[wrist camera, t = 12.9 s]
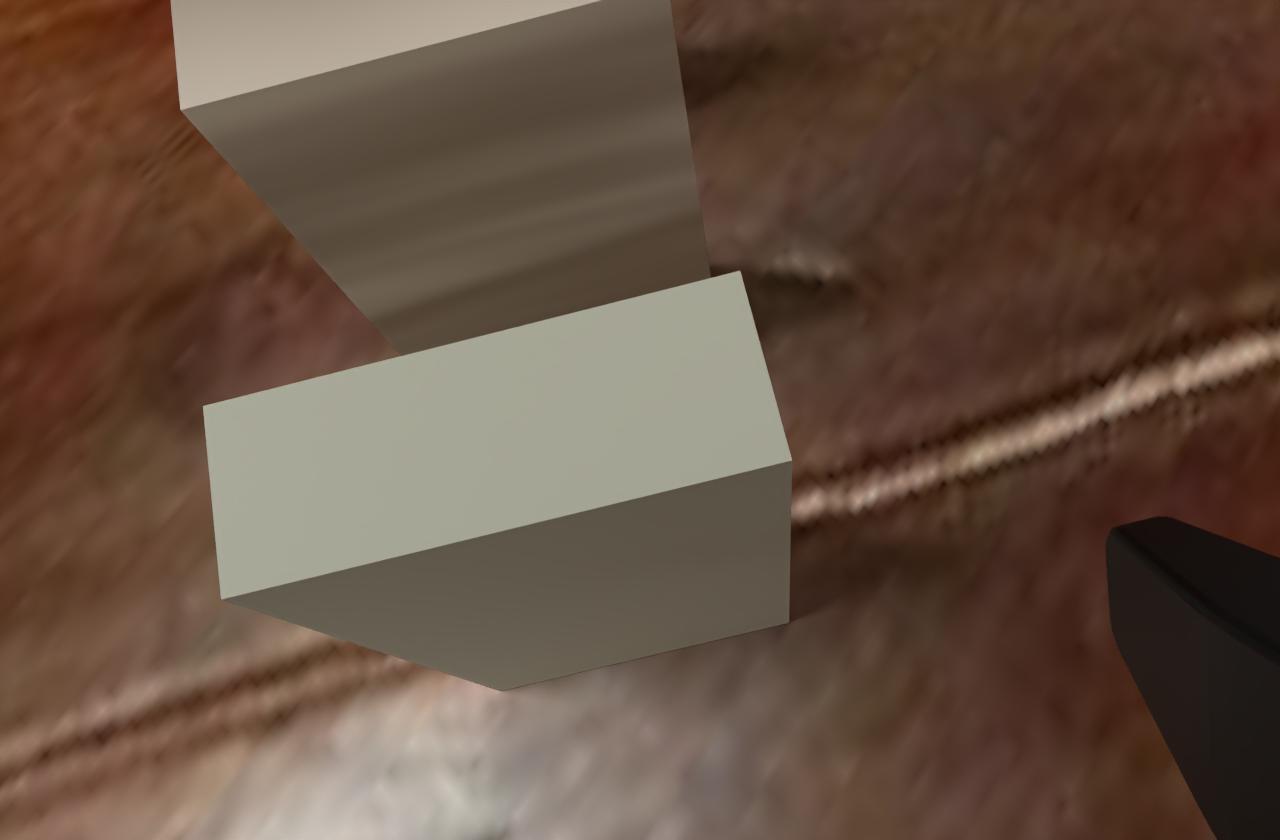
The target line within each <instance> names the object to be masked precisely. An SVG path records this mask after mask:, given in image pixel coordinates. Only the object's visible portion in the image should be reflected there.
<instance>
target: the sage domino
mask: <svg viewBox="0 0 1280 840" xmlns="http://www.w3.org/2000/svg"><path fill="white" fill-rule="evenodd" d="M203 411H204V422H205V433H206V443H207V454H208V465H209V475H210V486H211V496H212V507H213V518H214V528H215V539H216V550H217V560H218V571H219V581H220V592H221V600H224V601H227V602H230V603H233V604H236V605H239V606H242V607H246V608H249V609H252V610H255V611H258V612H261V613H264V614H267V615H270V616H273V617H276V618H279V619H282V620H285V621H288V622H291V623H294V624H297V625H300V626H303V627H306V628H309V629H312V630H316V631H319V632H322V633H325V634H328V635H331V636H334V637H337V638H340V639H343V640H346V641H349V642H352V643H355V644H358V645H361V646H364V647H367V648H370V649H373V650H376V651H379V652H382V653H385V654H389V655H392V656H395V657H398V658H401V659H404V660H407V661H410V662H413V663H416V664H419V665H422V666H425V667H428V668H431V669H434V670H437V671H440V672H443V673H446V674H449V675H452V676H455V677H459V678H462V679H465V680H468V681H471V682H474V683H477V684H480V685H483V686H486V687H489V688H492V689H495V690H498V691H503V690H507V689H511V688H516V687H520V686H524V685H528V684H533V683H537V682H541V681H545V680H550V679H554V678H558V677H562V676H566V675H571V674H575V673H579V672H583V671H588V670H592V669H596V668H600V667H604V666H609V665H613V664H617V663H621V662H626V661H630V660H634V659H638V658H642V657H647V656H651V655H655V654H659V653H664V652H668V651H672V650H676V649H680V648H685V647H689V646H693V645H697V644H702V643H706V642H710V641H714V640H719V639H723V638H727V637H731V636H735V635H740V634H744V633H748V632H752V631H757V630H761V629H765V628H769V627H773V626H778V625H782V624H786V623H789V598H790V545H791V493H792V458H791V455H790V451H789V447H788V444H787V440H786V436H785V433H784V429H783V425H782V422H781V418H780V414H779V411H778V407H777V403H776V400H775V396H774V392H773V389H772V385H771V381H770V378H769V374H768V370H767V367H766V363H765V359H764V356H763V352H762V348H761V345H760V341H759V338H758V334H757V330H756V327H755V323H754V319H753V316H752V312H751V308H750V305H749V301H748V297H747V294H746V290H745V286H744V283H743V279H742V275H741V272H740V271H737V272H733V273H729V274H725V275H721V276H717V277H713V278H709V279H705V280H701V281H697V282H693V283H689V284H685V285H681V286H677V287H673V288H669V289H665V290H662V291H658V292H654V293H650V294H646V295H642V296H638V297H634V298H630V299H626V300H622V301H618V302H614V303H610V304H606V305H602V306H598V307H594V308H590V309H586V310H582V311H578V312H574V313H570V314H566V315H562V316H559V317H555V318H551V319H547V320H543V321H539V322H535V323H531V324H527V325H523V326H519V327H515V328H511V329H507V330H503V331H499V332H495V333H491V334H487V335H483V336H479V337H475V338H471V339H467V340H463V341H459V342H456V343H452V344H448V345H444V346H440V347H436V348H432V349H428V350H424V351H420V352H416V353H412V354H408V355H404V356H400V357H396V358H392V359H388V360H384V361H380V362H376V363H372V364H368V365H364V366H360V367H356V368H353V369H349V370H345V371H341V372H337V373H333V374H329V375H325V376H321V377H317V378H313V379H309V380H305V381H301V382H297V383H293V384H289V385H285V386H281V387H277V388H273V389H269V390H265V391H261V392H257V393H253V394H250V395H246V396H242V397H238V398H234V399H230V400H226V401H222V402H218V403H214V404H210V405H206V406H203Z"/></svg>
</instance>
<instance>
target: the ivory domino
mask: <svg viewBox="0 0 1280 840" xmlns="http://www.w3.org/2000/svg"><path fill="white" fill-rule="evenodd" d="M171 9H172V20H173V32H174V43H175V54H176V65H177V77H178V88H179V99H180V110H181V111H182V112H183V113H184V115H185V116H186V117H187V118H188V119H189V120H190V121H191V122H192V123H193V125H194V126H195V127H196V128H197V129H198V130H199V131H200V132H201V133H202V135H203V136H204V137H205V138H206V139H207V140H208V141H209V142H210V144H211V145H212V146H213V147H214V148H215V149H216V150H217V151H218V152H219V154H220V155H221V156H222V157H223V158H224V159H225V160H226V161H227V162H228V164H229V165H230V166H231V167H232V168H233V169H234V170H235V171H236V173H237V174H238V175H239V176H240V177H241V178H242V179H243V180H244V181H245V183H246V184H247V185H248V186H249V187H250V188H251V189H252V190H253V191H254V193H255V194H256V195H257V196H258V197H259V198H260V199H261V200H262V201H263V203H264V204H265V205H266V206H267V207H268V208H269V209H270V210H271V212H272V213H273V214H274V215H275V216H276V217H277V218H278V219H279V220H280V222H281V223H282V224H283V225H284V226H285V227H286V228H287V229H288V230H289V232H290V233H291V234H292V235H293V236H294V237H295V238H296V239H297V241H298V242H299V243H300V244H301V245H302V246H303V247H304V248H305V249H306V251H307V252H308V253H309V254H310V255H311V256H312V257H313V258H314V259H315V261H316V262H317V263H318V264H319V265H320V266H321V267H322V268H323V269H324V271H325V272H326V273H327V274H328V275H329V276H330V277H331V278H332V280H333V281H334V282H335V283H336V284H337V285H338V286H339V287H340V288H341V290H342V291H343V292H344V293H345V294H346V295H347V296H348V297H349V298H350V300H351V301H352V302H353V303H354V304H355V305H356V306H357V307H358V309H359V310H360V311H361V312H362V313H363V314H364V315H365V316H366V317H367V319H368V320H369V321H370V322H371V323H372V324H373V325H374V326H375V327H376V329H377V330H378V331H379V332H380V333H381V334H382V335H383V336H384V338H385V339H386V340H387V341H388V342H389V343H390V344H391V345H392V346H393V348H394V349H395V350H396V351H397V352H398V353H399V354H400V355H401V356H404V355H408V354H412V353H416V352H420V351H424V350H428V349H432V348H436V347H440V346H444V345H448V344H452V343H456V342H459V341H463V340H467V339H471V338H475V337H479V336H483V335H487V334H491V333H495V332H499V331H503V330H507V329H511V328H515V327H519V326H523V325H527V324H531V323H535V322H539V321H543V320H547V319H551V318H555V317H559V316H562V315H566V314H570V313H574V312H578V311H582V310H586V309H590V308H594V307H598V306H602V305H606V304H610V303H614V302H618V301H622V300H626V299H630V298H634V297H638V296H642V295H646V294H650V293H654V292H658V291H662V290H665V289H669V288H673V287H677V286H681V285H685V284H689V283H693V282H697V281H701V280H705V279H709V278H711V274H710V268H709V261H708V254H707V247H706V241H705V234H704V227H703V220H702V214H701V207H700V200H699V194H698V187H697V180H696V173H695V167H694V160H693V153H692V146H691V140H690V133H689V126H688V119H687V113H686V106H685V99H684V92H683V86H682V79H681V72H680V65H679V59H678V52H677V45H676V38H675V32H674V25H673V18H672V12H671V5H670V0H171Z"/></svg>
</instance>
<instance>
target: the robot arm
mask: <svg viewBox="0 0 1280 840" xmlns="http://www.w3.org/2000/svg"><path fill="white" fill-rule="evenodd" d="M1106 565H1107V581H1108V596H1109V611H1110V622H1111V627H1112V631H1113V635H1114V638H1115V641H1116V644H1117V646H1118V649H1119V651H1120V653H1121V655H1122V657H1123V659H1124V661H1125V663H1126V665H1127V667H1128V669H1129V671H1130V673H1131V675H1132V677H1133V679H1134V681H1135V683H1136V685H1137V687H1138V689H1139V690H1140V692H1141V694H1142V696H1143V698H1144V700H1145V702H1146V704H1147V706H1148V708H1149V710H1150V712H1151V714H1152V716H1153V718H1154V720H1155V722H1156V724H1157V726H1158V728H1159V730H1160V732H1161V734H1162V736H1163V738H1164V740H1165V742H1166V744H1167V746H1168V747H1169V749H1170V751H1171V753H1172V755H1173V757H1174V759H1175V761H1176V763H1177V765H1178V767H1179V769H1180V771H1181V773H1182V775H1183V777H1184V779H1185V781H1186V783H1187V785H1188V787H1189V789H1190V791H1191V793H1192V795H1193V797H1194V799H1195V801H1196V802H1197V804H1198V806H1199V808H1200V810H1201V812H1202V814H1203V815H1204V817H1205V819H1206V821H1207V823H1208V825H1209V827H1210V828H1211V830H1212V832H1213V833H1214V835H1215V837H1216V838H1217V840H1280V558H1279V557H1276V556H1273V555H1271V554H1268V553H1265V552H1263V551H1260V550H1257V549H1255V548H1252V547H1249V546H1247V545H1244V544H1241V543H1239V542H1236V541H1233V540H1231V539H1228V538H1225V537H1222V536H1220V535H1217V534H1214V533H1212V532H1209V531H1206V530H1204V529H1201V528H1198V527H1196V526H1193V525H1190V524H1188V523H1185V522H1182V521H1180V520H1177V519H1174V518H1171V517H1167V516H1158V517H1153V518H1149V519H1145V520H1140V521H1136V522H1132V523H1127V524H1123V525H1119V526H1116V527H1113V528H1112V530H1111V531H1110V532H1109V533H1108V535H1107V539H1106Z"/></svg>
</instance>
